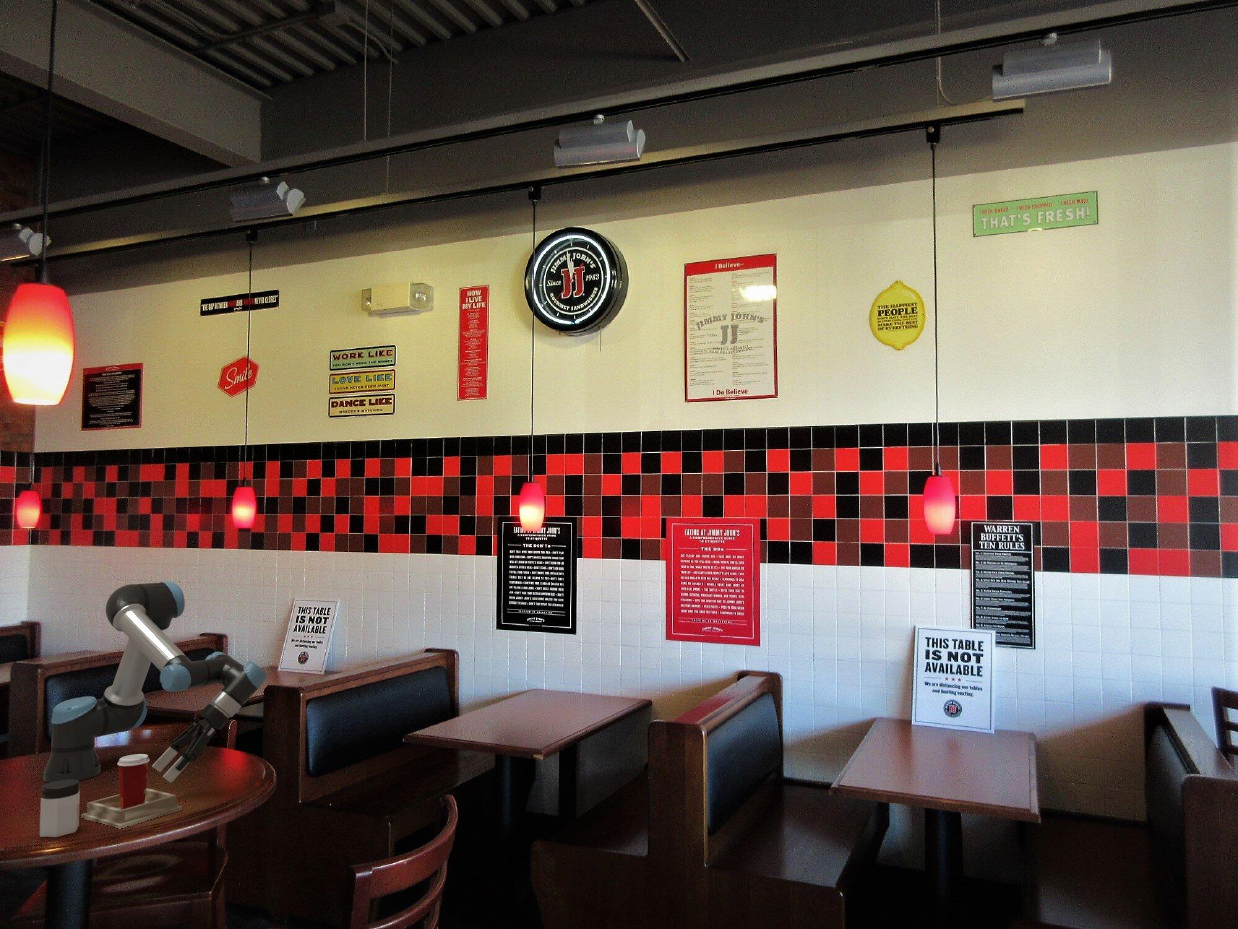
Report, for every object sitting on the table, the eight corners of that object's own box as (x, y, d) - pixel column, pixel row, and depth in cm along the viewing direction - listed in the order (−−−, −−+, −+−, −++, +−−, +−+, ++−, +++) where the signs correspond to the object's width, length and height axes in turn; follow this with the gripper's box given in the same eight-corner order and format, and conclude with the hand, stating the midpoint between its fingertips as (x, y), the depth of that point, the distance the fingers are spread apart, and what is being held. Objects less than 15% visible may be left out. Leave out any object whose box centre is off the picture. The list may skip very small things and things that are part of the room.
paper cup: (155, 806, 238) (156, 754, 239) (131, 816, 230) (132, 762, 231) (133, 804, 240) (134, 752, 241) (108, 813, 233) (110, 759, 234)
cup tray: (81, 818, 232) (81, 802, 232) (143, 800, 247) (143, 786, 247) (119, 829, 223) (120, 813, 223) (181, 810, 238) (182, 795, 238)
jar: (43, 829, 224) (45, 781, 225) (80, 824, 227) (82, 777, 228) (36, 840, 216) (38, 790, 217) (75, 835, 219) (76, 786, 220)
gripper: (242, 726, 242) (182, 792, 231) (217, 712, 261) (161, 772, 251) (222, 709, 239) (160, 776, 228) (199, 696, 258) (141, 757, 248)
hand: (161, 774), depth 239 cm, fingers open, 13 cm apart
